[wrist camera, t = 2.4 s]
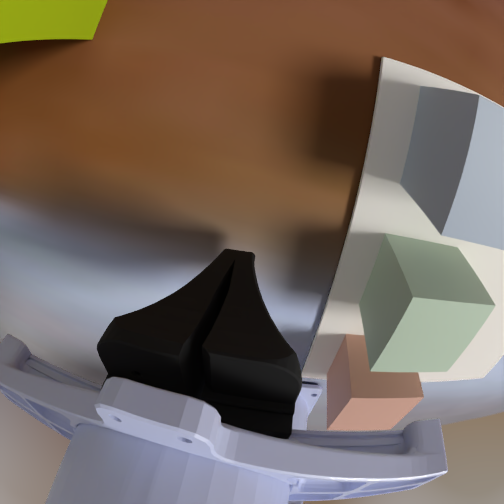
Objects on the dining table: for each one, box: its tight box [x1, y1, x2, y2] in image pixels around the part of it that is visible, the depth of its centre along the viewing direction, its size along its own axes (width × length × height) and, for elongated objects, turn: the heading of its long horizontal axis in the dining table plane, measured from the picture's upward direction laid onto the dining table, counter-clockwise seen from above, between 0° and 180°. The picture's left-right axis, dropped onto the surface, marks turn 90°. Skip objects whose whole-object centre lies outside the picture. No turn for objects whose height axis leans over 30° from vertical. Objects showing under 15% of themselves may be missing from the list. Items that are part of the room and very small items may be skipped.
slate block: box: [400, 86, 504, 250], centre depth 8 cm, size 4×4×4 cm
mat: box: [301, 57, 504, 382], centre depth 14 cm, size 20×18×1 cm
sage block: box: [359, 233, 496, 372], centre depth 12 cm, size 4×4×4 cm
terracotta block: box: [327, 334, 424, 430], centre depth 16 cm, size 4×4×4 cm
